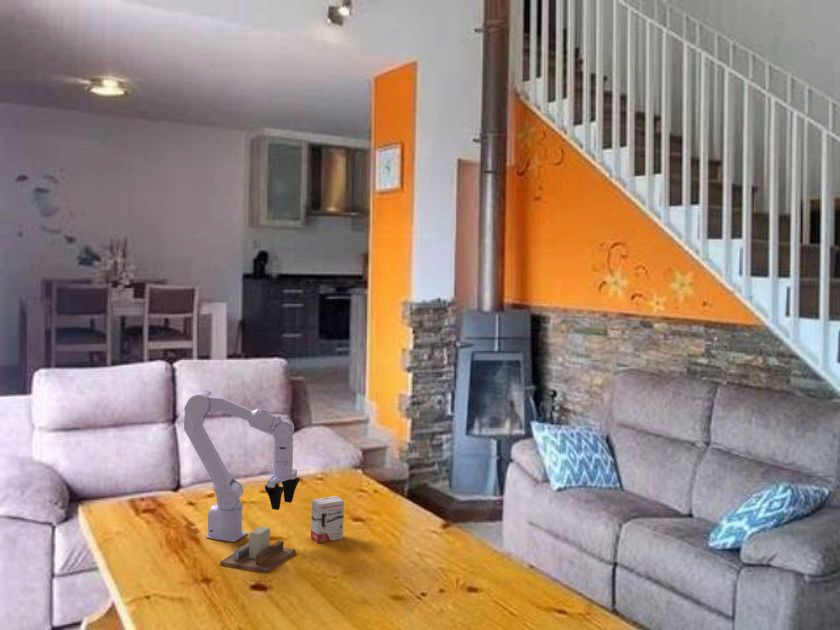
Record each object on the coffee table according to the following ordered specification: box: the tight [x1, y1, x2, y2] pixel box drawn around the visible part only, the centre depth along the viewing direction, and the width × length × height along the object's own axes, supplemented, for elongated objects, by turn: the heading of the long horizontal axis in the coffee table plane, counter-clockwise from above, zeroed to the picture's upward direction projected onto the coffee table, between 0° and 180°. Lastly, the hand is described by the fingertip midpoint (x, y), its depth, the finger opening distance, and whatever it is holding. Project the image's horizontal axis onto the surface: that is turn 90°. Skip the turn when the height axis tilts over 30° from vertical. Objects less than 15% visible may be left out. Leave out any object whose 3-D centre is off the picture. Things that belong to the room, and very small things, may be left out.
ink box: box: [310, 495, 345, 544], centre depth 230 cm, size 8×5×12 cm, turn 123°
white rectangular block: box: [248, 526, 271, 559], centre depth 213 cm, size 3×6×7 cm, turn 161°
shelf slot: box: [219, 540, 297, 574], centre depth 213 cm, size 14×16×4 cm
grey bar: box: [233, 541, 249, 561], centre depth 214 cm, size 2×12×2 cm, turn 161°
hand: (282, 505), depth 231 cm, fingers open, 7 cm apart
